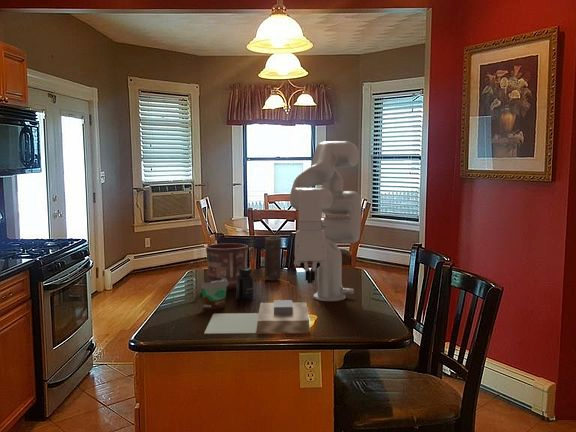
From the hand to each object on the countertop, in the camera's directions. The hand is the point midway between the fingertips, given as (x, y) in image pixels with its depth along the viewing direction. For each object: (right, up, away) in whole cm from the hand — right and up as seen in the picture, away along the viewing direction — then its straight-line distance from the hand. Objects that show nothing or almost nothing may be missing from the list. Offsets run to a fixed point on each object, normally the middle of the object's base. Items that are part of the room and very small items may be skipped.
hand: (310, 282), depth 173 cm
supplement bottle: (-24, -11, +35) cm, 43 cm away
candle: (-14, -8, +68) cm, 69 cm away
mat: (-25, -14, +2) cm, 29 cm away
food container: (-33, -12, +23) cm, 42 cm away
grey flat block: (-9, -10, +1) cm, 13 cm away
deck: (-9, -14, +2) cm, 16 cm away
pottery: (-33, -9, +55) cm, 65 cm away
